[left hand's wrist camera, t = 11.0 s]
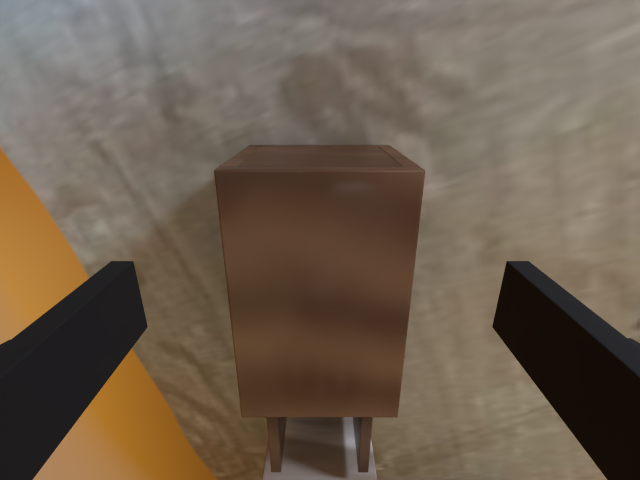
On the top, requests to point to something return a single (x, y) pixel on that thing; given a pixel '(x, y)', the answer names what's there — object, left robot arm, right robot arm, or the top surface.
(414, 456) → the top surface
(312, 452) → the drawer
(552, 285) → the left robot arm
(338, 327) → the cabinet
